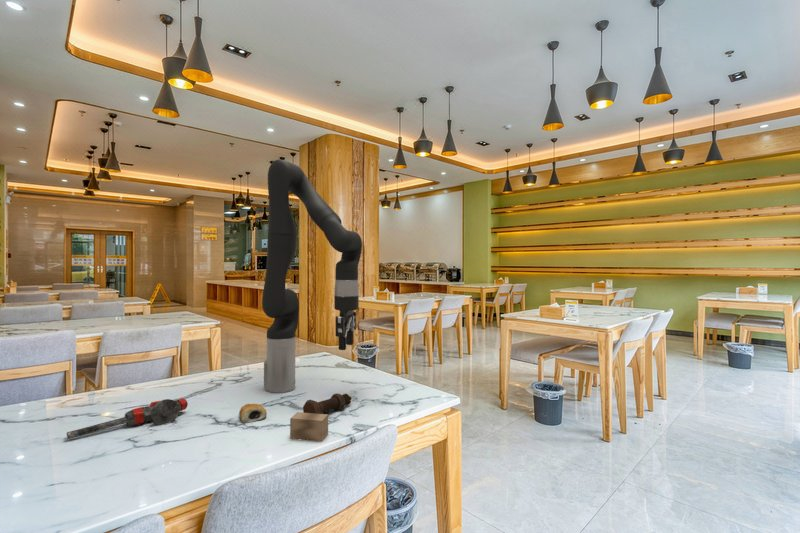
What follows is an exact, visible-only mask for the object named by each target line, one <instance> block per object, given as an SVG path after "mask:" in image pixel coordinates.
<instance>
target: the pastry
mask: <svg viewBox="0 0 800 533" xmlns="http://www.w3.org/2000/svg"><path fill="white" fill-rule="evenodd" d="M267 413H268V412H267V410H266V409H265V407H264V406H263V405H262V404H258V403H255V402H254V403H246V404H244V405H242V406H241V408H240V410H239V413H238V416H239V417H240V421H241V422H242V423H243V424H250V423H254V422H260V421H262V420H264V419H265V418H266V416H267Z"/></svg>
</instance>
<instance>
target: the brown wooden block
mask: <svg viewBox="0 0 800 533" xmlns="http://www.w3.org/2000/svg"><path fill="white" fill-rule="evenodd" d="M289 422H290V423H289V428H290V429H289V440H298V439H301V440H302V441H310V442H311V441H313V442H320V443H321V442H323V441H324V440H325V439H326V438H327V437H328V435H329V414H327V413H323V414H315V413H303V412H299V411H298V412H296V413H294V415H292V416H291V417H290V418H289ZM301 440H300V441H301Z"/></svg>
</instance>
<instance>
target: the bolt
mask: <svg viewBox="0 0 800 533" xmlns="http://www.w3.org/2000/svg"><path fill="white" fill-rule="evenodd" d="M351 402H352V396H350V395H349V394H348V393H344V394H341V393H338V392H337V393H333V394H332V395H331V396H330V398H328V399H324V400H321V401H316V400H314V399H307V400H306V401H305V403H304V404H303V409H302V413H315V414H326V413H327V412H330V411H337V412H338V411H339V412H340V411H342V410H343V409H344V408H345V406H348V405H350V404H351Z"/></svg>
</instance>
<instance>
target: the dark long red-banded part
mask: <svg viewBox="0 0 800 533" xmlns="http://www.w3.org/2000/svg"><path fill="white" fill-rule="evenodd" d="M187 408H188V401H187V399H186V398H183V397H181V398H179V399H175V400H174V399H171V398H167V399H162V400H156V401H151V402H150V404H149V405H147V406H140V407H137V408H133V409H131V410H129V411H126V412H125V413H124V417H120V418H115V419H111V420H109V421H105V422H100V423H98V424H97V423H96V424H94V425H93V424H92V425H88V426H86V427H82V428H78V429H74V430H71V431H67V432H66V437H67V440H70V439H72V438H77V437H80V436H84V435H87V434H91V433H94V432H95V433H96V432H98V431H99V432H100V431H103V430H106V429H110V428H113V427H116V426H120V425H124V424H126V426H128V427H131V426H132V427H136V426H140V425H144V424H145V422H147V421H153V423H154V424H156V425H158V426H163V425H167V424H171V423H173V422H174V421H175V420H176V419H177V418H178V417H179V414H180V412H181V411H184V410H186V409H187Z"/></svg>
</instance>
